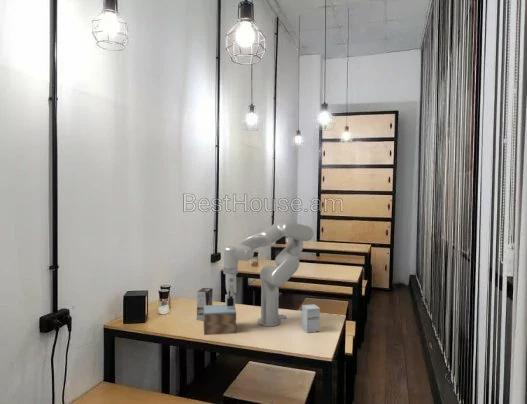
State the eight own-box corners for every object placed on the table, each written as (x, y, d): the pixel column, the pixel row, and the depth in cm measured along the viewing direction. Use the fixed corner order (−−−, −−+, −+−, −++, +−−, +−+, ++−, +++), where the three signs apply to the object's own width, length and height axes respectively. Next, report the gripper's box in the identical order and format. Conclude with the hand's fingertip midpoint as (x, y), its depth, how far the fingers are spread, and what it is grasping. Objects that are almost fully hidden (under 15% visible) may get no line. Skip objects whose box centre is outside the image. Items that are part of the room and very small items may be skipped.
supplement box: (306, 333, 188) (306, 308, 187) (301, 328, 195) (301, 304, 195) (319, 332, 190) (320, 307, 189) (314, 327, 197) (314, 303, 196)
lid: (233, 305, 199) (233, 291, 198) (236, 313, 186) (236, 298, 186) (203, 307, 195) (203, 292, 195) (204, 314, 183) (204, 299, 183)
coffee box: (207, 321, 203) (207, 292, 203) (196, 320, 205) (196, 291, 204) (212, 315, 212) (213, 288, 212) (202, 314, 214) (202, 287, 213)
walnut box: (233, 324, 199) (233, 306, 198) (235, 332, 187) (236, 313, 187) (203, 326, 196) (203, 307, 195) (204, 334, 184) (204, 315, 184)
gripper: (239, 273, 184) (239, 309, 185) (236, 267, 200) (235, 300, 200) (224, 273, 183) (224, 310, 183) (222, 267, 198) (221, 301, 199)
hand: (230, 305), depth 192 cm, fingers closed
